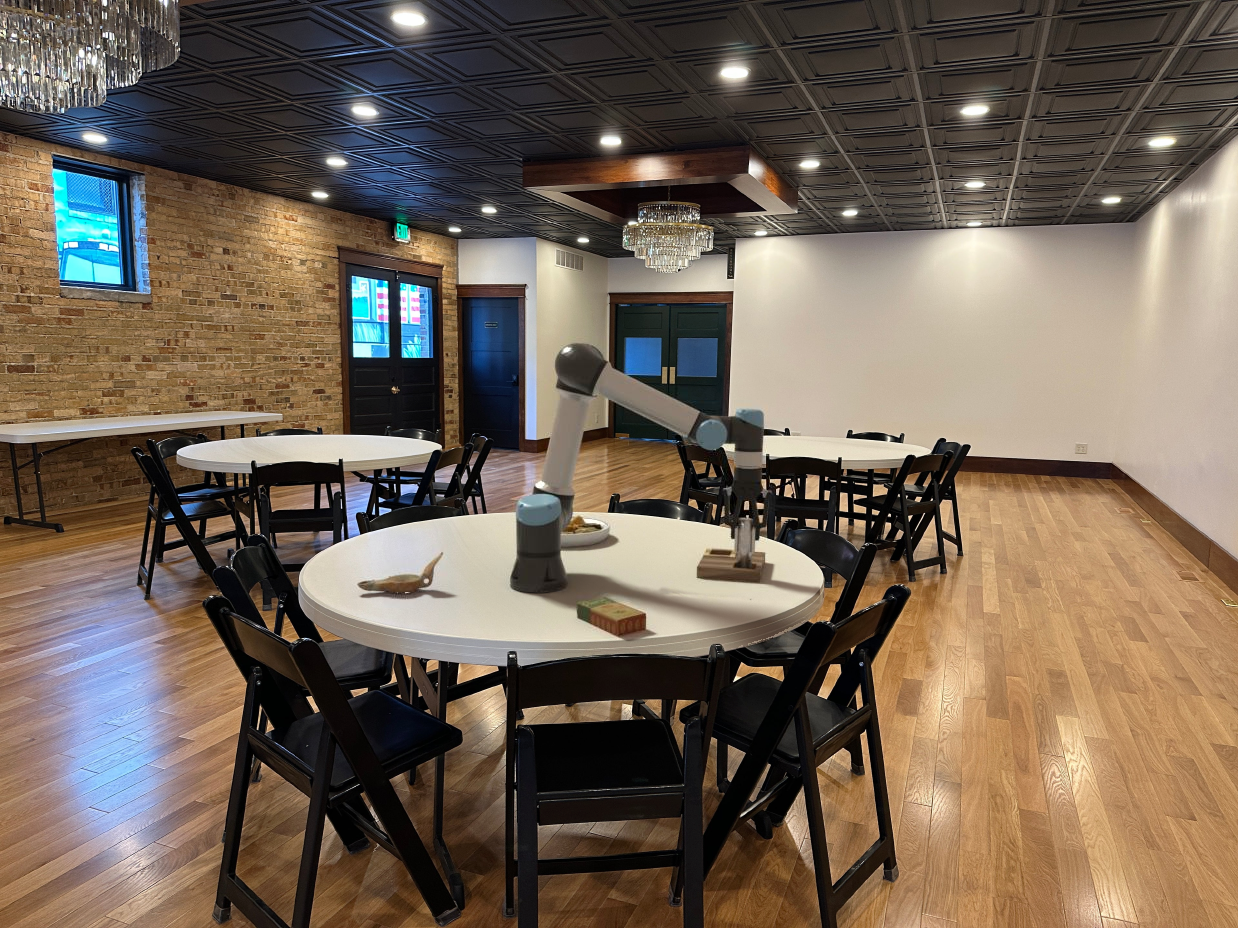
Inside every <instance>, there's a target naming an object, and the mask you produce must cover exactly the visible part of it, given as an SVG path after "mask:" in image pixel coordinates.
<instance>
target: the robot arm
mask: <svg viewBox="0 0 1238 928" xmlns="http://www.w3.org/2000/svg"><path fill="white" fill-rule="evenodd" d="M554 369H555V370H554V371H555V374H556V376H557V380H556V384H555V390H556V392H557V393H558V396H559V397H558V401H557V406H556V410H555V413H554V414H555V415H554V419H553V423H552V427H551V428H552V429H551V433H550V437H549V438H550V439H549V443H548V447H547V452H546V455H545V460H544V463H543V464H544V465H543V468H542V474H541V477H540V478H541V479H539V480H537V481H536V482H535V483H534V484H533V489H532V494H529V495H526V496H523V497H521V498H519V500H517V503H516V509H515V517H516V518H515V523H516V529H515V531H516V535H515V536H516V537H515V538H516V540H515V541H516V558H515V561H514V564H513V567H512V571H511V573H510V577H509V585H510V588H512V589H514V591H515V590H516V591H519V592H524V593H525V592H526V593H549V592H555V591H559V590H562V589H565V588H566V587H567V586H568V574H567V571H566V569H565V565H564V563H563V562H564V561H563V559H562V556H561V555H562V554H561V549H562V547H561V532H562V531H563V530H564V529H565V528H566V527H567V526H568V525H569V523H570V521H571V519H572V516H573V514H574V512H573V510H574V508H573V505H574V500H575V496H576V491H575V490H574V488H573V485H572V484H573V479H574V475H575V470H576V467H577V466H576V465H577V463H578V462H577V461H578V456H579V453H580V449H581V444H582V441H583V435H584V430H585V426H586V424H587V423H586V422H587V417H588V414H589V409H590V403H591V402H592V401H594V400H596V399H597V398H598V396H601V397H603V398H605V399H607V400H610V401H611V402H614V403H616V404H617V405H620V406H622V407H624V408H625V409H628V410H630V411H632V412H633V413H636V414H638V415H640V416H642V417H644V418H645V419H648V420H650V421H652V422H654V423H656V424H658V425H661V426H662V427H665V428H666V429H668V430H670V431H672V432H675V433H676V434H678V435H681V436H682V437H684V438H686V439H689V440H690V441H691V443H693V444H698V445H699V446H700V447H701V448H703V449H705V450H708V451H715V450H718V449H720V448H721V447H723V446H724V445H734V451H733V453H734V455H733V456H734V457H733V465H734V467H733V478H732V479H733V481H732V484H731V486H729V487H724V488H723V489H722V491H721V493H722V495H723V496H722V497H723V499H724V501H723V503H724V505H723V506H724V507H723V508H724V510H723V511H724V513H723V514H724V516H723V517H724V519H723V521H724V525H725V526H728V527H730V539H731V540H734V547H733V550H734V552H737V546H738V525H737V523H738V519H739V515H740V511H741V507H742V504H743V502H744V501H747V502H750V504H751V510H752V518H753V524H754V527H753V529H752V552H751V553H754V552H756V542H759V541H760V537H761V529H763V528H764V529H765V528H766V527H767V525H768V517H769V504H770V499H771V497H772V493H773V491H772V490H767V489H765V488H764V486H763V482H762V479H763V468H762V466H763V454H764V452H763V450H764V433H765V422H764V421H765V419H764V418H765V417H764V416H765V415H764V412H763V411H762V410H761V409H757V408H756V409H755V408H754V409H753V408H739V409H736V411H735V415H732V416H731V415H730V416H726V415H725V416H724V415H708V414H706V413H703V412H701V411H699V410H698V409H696V408H693V407H692V406H689V405H688V404H686V403H683V402H682V401H680V400H677V399H676V398H674V397H671V396H669V395H668V394H666V393H664V392H661V391H659V390H657V389H655V388H653V387H652V386H649V385H648V384H645V383H643V382H641V381H640V380H638V379H635V378H633V377H631V376H629V375H628V374H625V373H623V372H621V371H619V370H617V369H616V368H613V367H612V364H611V362H610V361H609V360H606V359H605V357H604V355H603V353H602V352H601V351H600V350H599V349H598V348H597V346H594V345H591V344H589V343H583V342H582V343H581V342H575V343H574V342H573V343H569V344H567V345H565V346H563V347H562V348H561V349H560V350H559V351H558V353H557V355H556V357H555V361H554ZM732 492H733V494H734V495H735V496H736V498H737V499H736V503H735V508H734V511H733V512H734V513H733V516H732V518H731V517H730V516H731V513H730V512H731V509H730V505H731V504H730V503H731V501H730V499H731V497H730V496H731V495H732ZM761 493H762V498H764V500H763V508H762V509H763V510H762V520H761V522H760V516H759V510H758V504H757V503H758V502H757V498H758V497H759V495H761ZM730 518H731V519H732V520H730Z"/></svg>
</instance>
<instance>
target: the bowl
mask: <svg viewBox="0 0 1238 928" xmlns="http://www.w3.org/2000/svg"><path fill="white" fill-rule="evenodd" d="M610 530H611V525H610V523H609V522H607V521H606V520H603V519H599V518H593V517H587V516H580V515H576V516H573V515H572V519H571V521H570V523H569V525H568V526H567V527H566V528H565V529H564V530H563V531H562V532H561V548H578V547H586V546H592V545H596V544H598V543H601V542H602V541H604V540H605V539H606V538H607V537H608V536H609V534H610Z"/></svg>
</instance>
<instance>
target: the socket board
mask: <svg viewBox="0 0 1238 928" xmlns="http://www.w3.org/2000/svg"><path fill="white" fill-rule="evenodd" d="M765 563H766V552H763V551H755V552H754V553H752V565H751V569H746V568H737V552H734V549H727V548H726V549H725V548H714V547H713V548H711V547H710V548H709V547H707V548H706V550H705V551H704V553H703V555H702V557H701V559H700V561H699V563H697V564H698V565H697V566H696V579H706V580H721V581H722V580H723V581H734V582H736V581H737V582H749V583H761V580H762V575H763V572H764V568H765Z"/></svg>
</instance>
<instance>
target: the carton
mask: <svg viewBox="0 0 1238 928" xmlns="http://www.w3.org/2000/svg"><path fill="white" fill-rule="evenodd" d="M576 619H579V620H581V621H583V622H585V623H587V624H589V625H592V626H594V627H596V628H597V629H600V630H602V631H604V632H606V633H609V634H611V635H613V636H615V637H621V636H625V635H626V636H627V635H629V634H634V633H638V632H643V631H646V629H647V613H646V612H644V611H642V610H639V609H637V608H634V607H631V606H628V605H625V604H623V603H621V602H619V601H616V600H613V599H612V598H608V597H605V596H601V597H598V598H593V599H589V600H583V601H580V602H577V604H576Z"/></svg>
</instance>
